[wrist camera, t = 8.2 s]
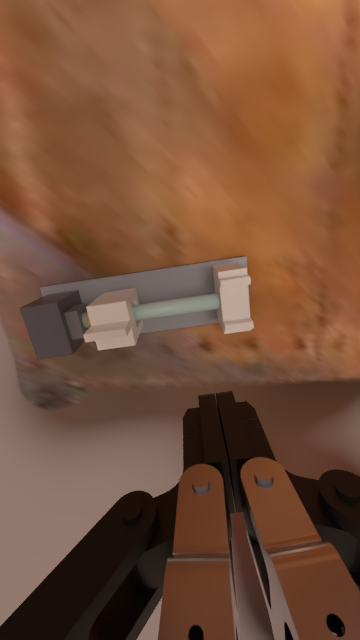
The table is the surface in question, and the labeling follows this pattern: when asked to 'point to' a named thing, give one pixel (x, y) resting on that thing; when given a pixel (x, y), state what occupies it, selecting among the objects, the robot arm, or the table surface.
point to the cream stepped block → (113, 320)
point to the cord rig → (144, 303)
